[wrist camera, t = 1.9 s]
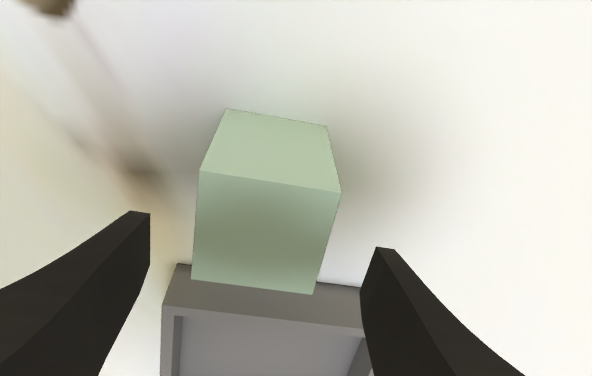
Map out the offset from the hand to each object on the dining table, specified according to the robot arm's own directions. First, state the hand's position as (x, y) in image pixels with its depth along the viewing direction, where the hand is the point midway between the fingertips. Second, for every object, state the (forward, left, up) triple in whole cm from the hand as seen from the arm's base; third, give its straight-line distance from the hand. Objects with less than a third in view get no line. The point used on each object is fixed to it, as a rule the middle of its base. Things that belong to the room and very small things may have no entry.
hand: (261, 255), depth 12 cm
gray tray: (+2, -13, -7) cm, 15 cm away
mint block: (0, 0, -7) cm, 7 cm away
